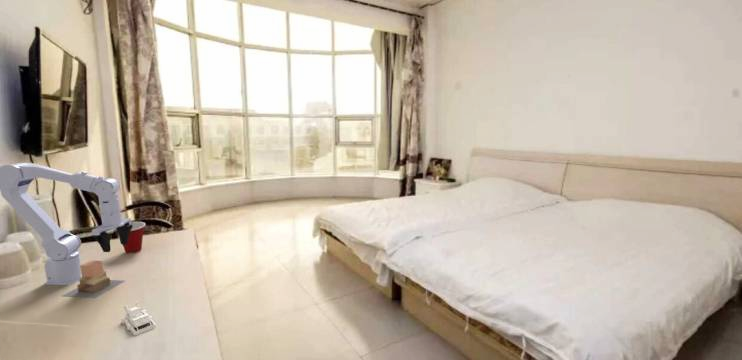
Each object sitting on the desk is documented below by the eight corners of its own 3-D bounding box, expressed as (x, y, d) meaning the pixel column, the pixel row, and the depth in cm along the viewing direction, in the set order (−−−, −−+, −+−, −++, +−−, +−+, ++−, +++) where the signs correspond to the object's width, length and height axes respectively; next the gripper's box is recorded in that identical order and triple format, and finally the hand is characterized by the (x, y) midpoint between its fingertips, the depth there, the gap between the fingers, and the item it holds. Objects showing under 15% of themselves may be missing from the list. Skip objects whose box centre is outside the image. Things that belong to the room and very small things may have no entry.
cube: (93, 277, 112) (91, 265, 111) (82, 276, 112) (80, 265, 111) (103, 271, 116) (102, 260, 115) (93, 271, 116) (91, 260, 115)
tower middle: (80, 284, 112) (78, 277, 112) (93, 277, 117) (92, 270, 116) (93, 285, 112) (92, 277, 111) (106, 278, 116) (105, 271, 116)
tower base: (78, 291, 112) (77, 284, 112) (94, 283, 118) (93, 276, 117) (94, 292, 111) (93, 285, 111) (110, 284, 117) (109, 277, 117)
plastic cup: (121, 258, 141) (118, 230, 139) (115, 251, 148) (112, 225, 146) (151, 250, 149) (148, 224, 147) (144, 244, 156) (141, 219, 154)
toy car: (133, 337, 89) (130, 322, 88) (119, 321, 97) (117, 307, 96) (158, 327, 94) (157, 312, 93) (144, 311, 101) (142, 298, 100)
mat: (61, 296, 109) (61, 296, 109) (94, 279, 121) (94, 279, 121) (94, 298, 108) (94, 297, 108) (125, 281, 120) (125, 280, 120)
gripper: (103, 217, 114) (108, 255, 116) (136, 207, 128) (141, 241, 131) (84, 217, 115) (90, 255, 117) (119, 206, 129) (124, 240, 131)
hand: (115, 247), depth 124 cm, fingers open, 7 cm apart
